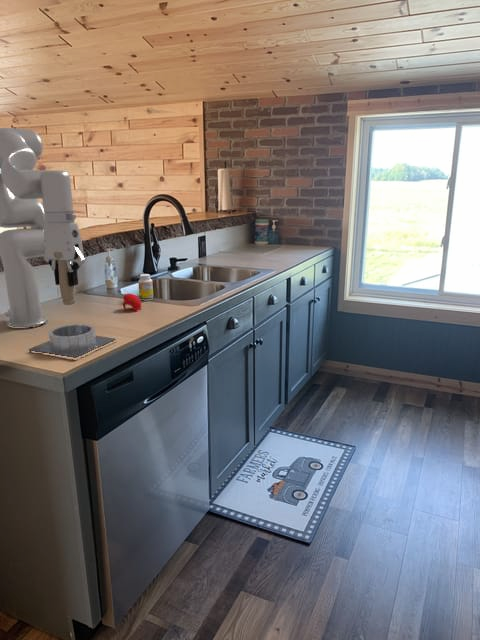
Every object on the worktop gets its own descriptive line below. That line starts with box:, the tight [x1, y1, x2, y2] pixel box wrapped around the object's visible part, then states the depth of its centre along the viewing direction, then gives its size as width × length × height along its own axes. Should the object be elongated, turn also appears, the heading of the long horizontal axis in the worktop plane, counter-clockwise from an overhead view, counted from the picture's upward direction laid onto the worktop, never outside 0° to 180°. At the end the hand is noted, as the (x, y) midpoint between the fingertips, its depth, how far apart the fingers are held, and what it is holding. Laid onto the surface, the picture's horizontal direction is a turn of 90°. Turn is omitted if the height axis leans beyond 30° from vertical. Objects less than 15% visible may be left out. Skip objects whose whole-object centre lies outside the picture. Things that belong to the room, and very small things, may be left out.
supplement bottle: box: [137, 273, 154, 302], centre depth 192 cm, size 6×6×10 cm
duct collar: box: [28, 323, 117, 358], centre depth 138 cm, size 17×17×5 cm
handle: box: [54, 252, 76, 306], centre depth 133 cm, size 5×6×15 cm
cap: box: [122, 293, 142, 312], centre depth 178 cm, size 8×6×6 cm
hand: (66, 284), depth 133 cm, fingers closed on handle, 4 cm apart
